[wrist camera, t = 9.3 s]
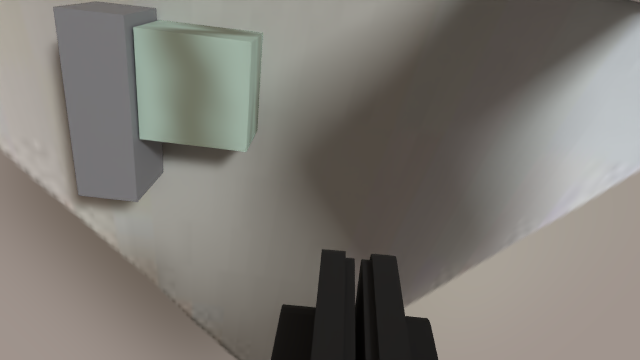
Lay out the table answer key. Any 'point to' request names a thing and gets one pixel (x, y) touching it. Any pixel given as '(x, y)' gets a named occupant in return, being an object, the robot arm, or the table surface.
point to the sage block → (197, 84)
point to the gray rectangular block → (105, 99)
